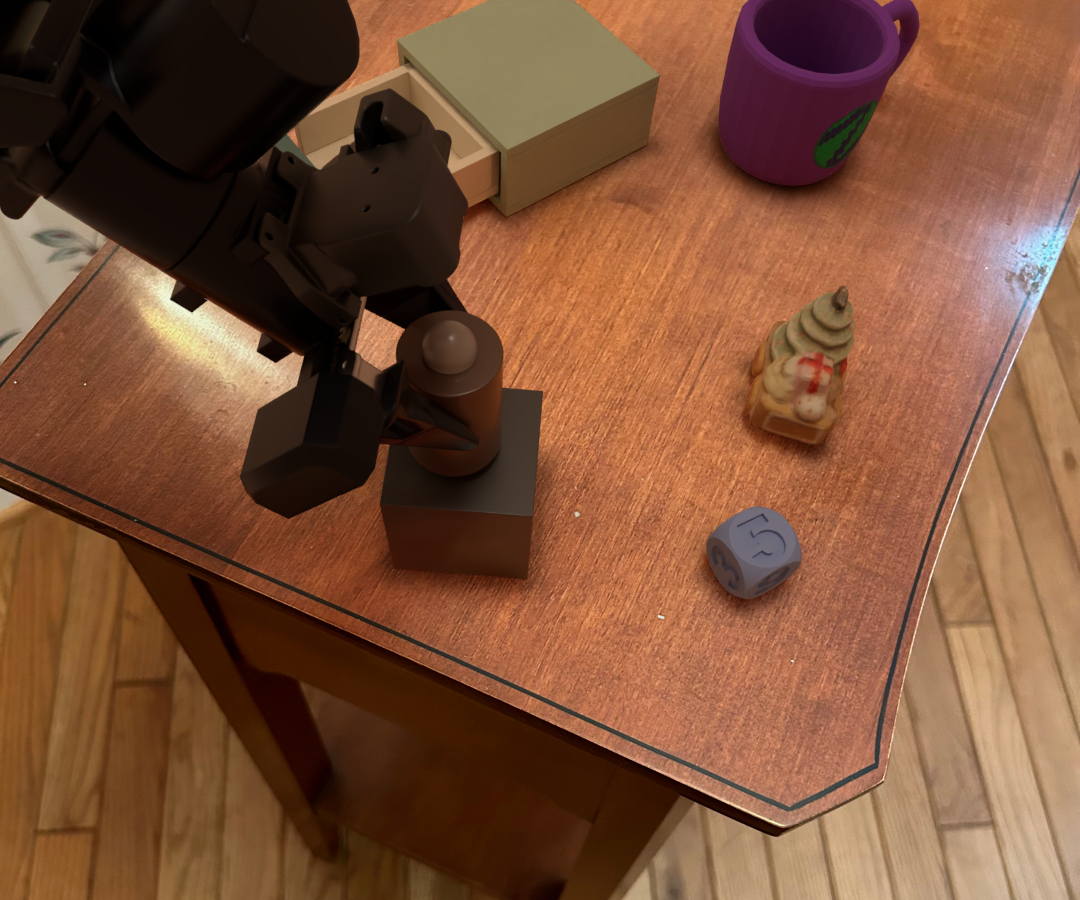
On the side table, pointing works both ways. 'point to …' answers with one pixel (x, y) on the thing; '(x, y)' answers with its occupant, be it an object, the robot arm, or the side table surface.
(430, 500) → the block
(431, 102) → the drawer
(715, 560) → the decorative dice
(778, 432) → the ornament
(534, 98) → the cabinet
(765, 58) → the mug
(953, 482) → the side table surface
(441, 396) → the pepper mill
